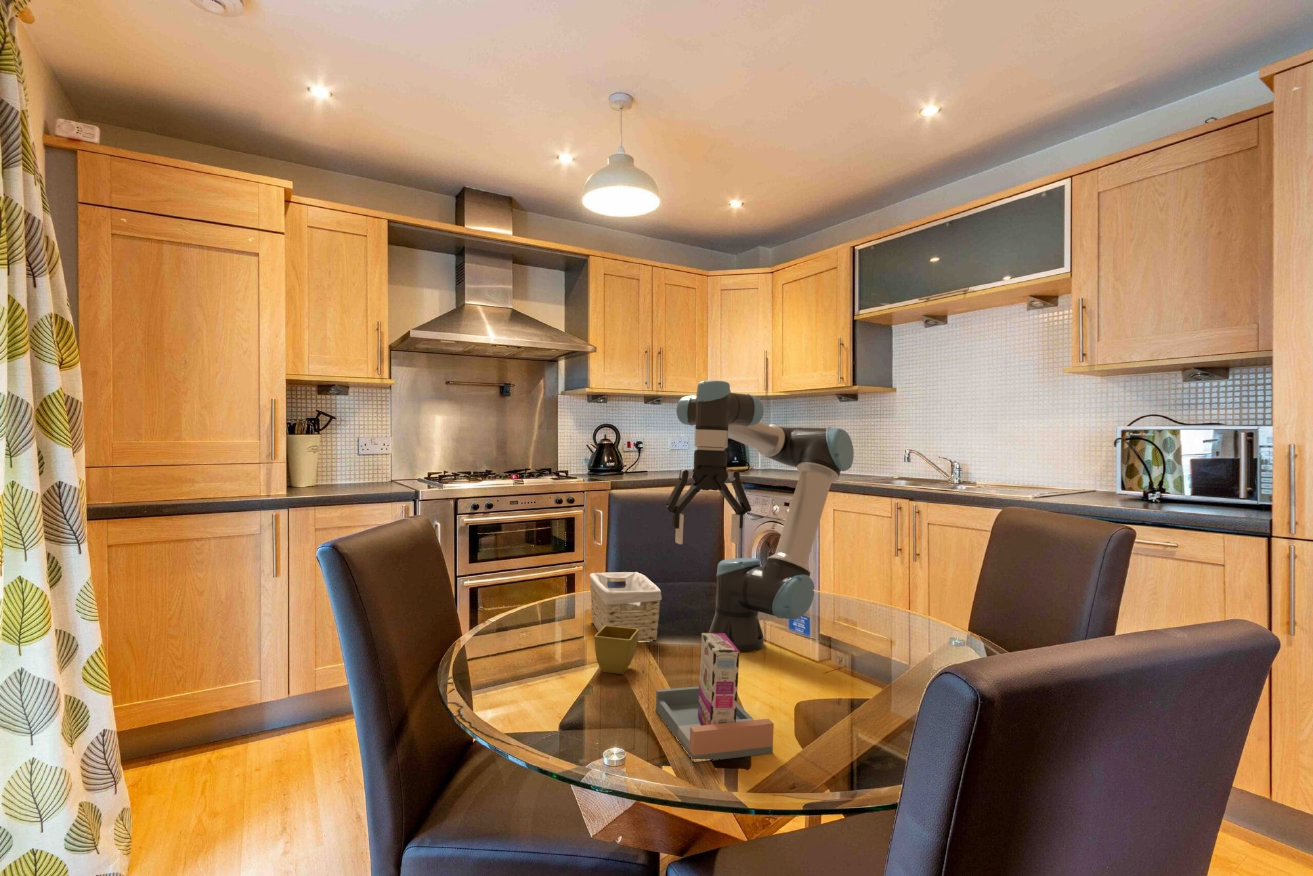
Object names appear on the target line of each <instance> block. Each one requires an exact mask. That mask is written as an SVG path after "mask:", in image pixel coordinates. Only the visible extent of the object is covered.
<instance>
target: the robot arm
mask: <svg viewBox="0 0 1313 876" xmlns="http://www.w3.org/2000/svg"><path fill="white" fill-rule="evenodd" d="M676 405H677V406H676V411H675V413H676V416H677V419H678V421H679V422H680V423H681V424H683V425H688V426H695V430H694V447H695V448H696V449H694V451H693V470H692V471H691V470H687V469H680V471H679V477H678V480H677V481H676V484H675V485H674V487H673V490H672V492H671V493H670V495H669V497H668V499H667V501H666V503H665V505H664V510H665V511H668V512H670V513H671V515H672V516H671V519H672V520H671V526H672V529H675V538H674V539H675V543H676V544H678V545H683V544H684V542H683V541H684V537H683V536H684V521H685V520H684V518H685V517H684V516H685V515H684V514H683V513H682V512H683V510H684V509H685V508H686V507H687V505H689V504H690V503H691V501H692V500H693V499H694V497H695V496H696V495H697V494H698V493H699V492H701V491H716V492H718V491H719V492H720V494H721V495H722V496H723V498H724V499H725V500H726V501H727V503H728V504H729V506H730V507H731V508H732V510H733V511H734V513H731V524H730V525H731V526H730V527H731V528H730V542H731V543H734V544H739V545H740V529H743V524H744V516H745V515H746V513H750V512H751V511H752V507H751V504H750V502H749V500H748V497H747V495H746V492H745V490H744V487H743V485H742V482H741V474H740V472H739V471H735V470H731V471H729V472H728V470H727V465H728V452H727V451H726V449H727V448H728V446H729V445H728V444H729V441H728V440H729V439H731V440H734V441H735V442H738V443H741V444H743V445H746V446H748V447H751V448H753V449H755V450H757V451H758V453H759V454H760V455H761V456H763V457H766V458H767V459H771V460H773V461H776V462H778V463H781V464H783V465H786V466H789V467H793V468H796V470H797V471H798V473H799V476H798V480H797V483H796V486H795V489H794V493H793V496H792V499H791V502H790V505H789V509H788V512H787V514H786V518H785V522H784V525H783V527H782V531H781V534H780V537H779V540H778V543H777V546H776V550H775V553H774V554H772V555H770V556H768V557H767V558H766V560H765V564H764V566H762V563H761V560H760V559H759V558H754V557H753V558H752V557H742V558H741V557H739V558H726V559H722V560H721V561H719V562H718V564H717V567H716V568H717V569H716V575H715V577H716V578H715V579H716V586H715V611H714V612H715V613H714V617H713V620H712V622H711V625H710V627H709V631H708V633H725V634H726V636H727V637H728V638H729V639H730V641H731V642H732V643H733V644H734V645H735V647H736V648H737V649H738V650H739V653H750V652H751V653H752V652H756V651H759V650H761V649H763V648H764V644H765V643H764V641H765V639H764V633H763V630H762V626H761V623H760V619H759V613H763V614H766V615H770V616H772V617H773V616H774V617H776V618H778V619H786V620H790V621H793V620H798V619H800V618H801V617H803V616H804V615H806V613H807V612H808V611H809V609H810V608H811V606H812V603H813V601H814V597H815V590H814V589H815V582H814V581H813V579H812V578H811V577H810V576H811V574H812V573H811V570H810V569H809V566H808V562H809V558H810V555H811V552H812V549H813V545H814V541H815V539H816V536H817V531H818V528H819V524H820V521H821V518H822V515H823V511H824V508H825V504H826V502H827V498H828V496H829V495H828V494H829V492H830V488H831V485H832V484H833V483H835V482H837V481H838V480H839V478H840V474H841V472H845V471H848V470H850V469H851V467H852V465H853V462H854V455H855V451H854V446H853V442H852V439H851V436H850V435H849V433H848V432H847V431H846V430H844V429H843V428H841V427H840V428H839V427H838V428H836V427H831V426H828V427H802V426H801V427H800V426H799V427H798V426H797V427H791V426H790V427H785V426H780V425H778V424H774V423H772V424H767V423H765V422H763V421H761V420H762V419H763V416H764V412H765V411H764V410H765V409H764V404H763V402H762V400H761V399H760V398H759V397H758V396H755V395H751V394H750V393H747V394H746V393H744V394H743V393H736V392H731V384H730V383H729V382H727V381H724V380H703V381H700V382H698V384H697V388H696V394H692V395H686V396H683V397H681V398H680V399H679V401H678V402H677V404H676ZM691 477H692V479H693V481H694V482H693V483H692V484H691V485H690V487H689V489H688V490H687V491H686V492H685V493H684V495H683V496H682V497H681V494H682V493H683V491H684V489H685V487H686V485H687V483H688V481H689V480H690V479H691ZM727 479H728V481H730V482H731V486H732V488H733V490H734V493H735V495H736V498H737V499H736V498H735V496H734V495H733V494H732V492H731V491H730V489H729V486H727V484H726V481H727ZM680 497H681V498H680Z"/></svg>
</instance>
